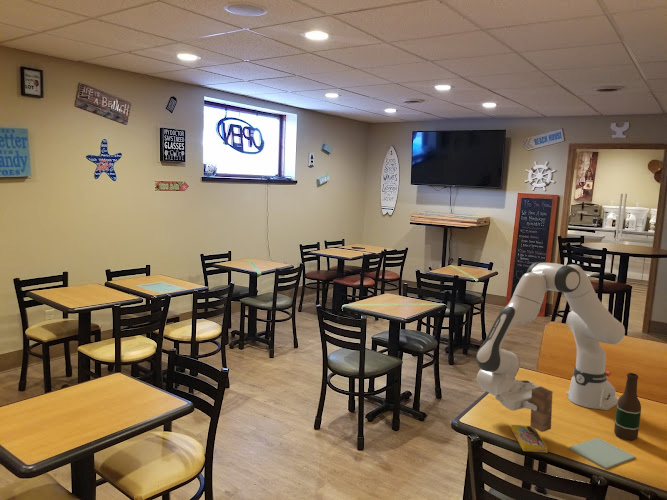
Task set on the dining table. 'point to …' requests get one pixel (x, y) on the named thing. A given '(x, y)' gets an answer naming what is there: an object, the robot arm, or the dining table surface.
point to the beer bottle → (628, 411)
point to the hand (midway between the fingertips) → (543, 407)
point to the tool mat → (601, 453)
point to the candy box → (529, 438)
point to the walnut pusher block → (541, 409)
